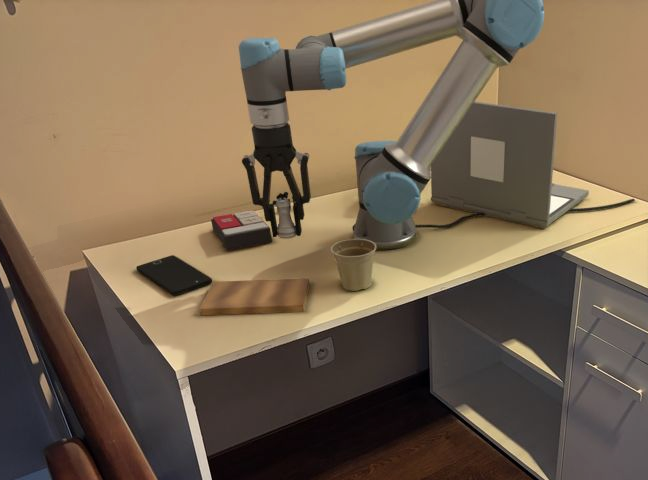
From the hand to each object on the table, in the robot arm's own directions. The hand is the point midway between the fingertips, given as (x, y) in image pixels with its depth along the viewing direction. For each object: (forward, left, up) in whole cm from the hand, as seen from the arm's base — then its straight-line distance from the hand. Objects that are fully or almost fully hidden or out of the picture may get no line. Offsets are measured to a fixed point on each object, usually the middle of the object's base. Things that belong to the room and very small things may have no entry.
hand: (287, 233), depth 148 cm
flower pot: (-15, +9, -8) cm, 19 cm away
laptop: (-55, -38, -8) cm, 67 cm away
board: (+5, +14, -8) cm, 17 cm away
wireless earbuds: (+6, -37, -9) cm, 38 cm away
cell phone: (+25, +2, -8) cm, 27 cm away
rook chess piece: (0, 0, 0) cm, 0 cm away
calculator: (+15, -20, -9) cm, 26 cm away
